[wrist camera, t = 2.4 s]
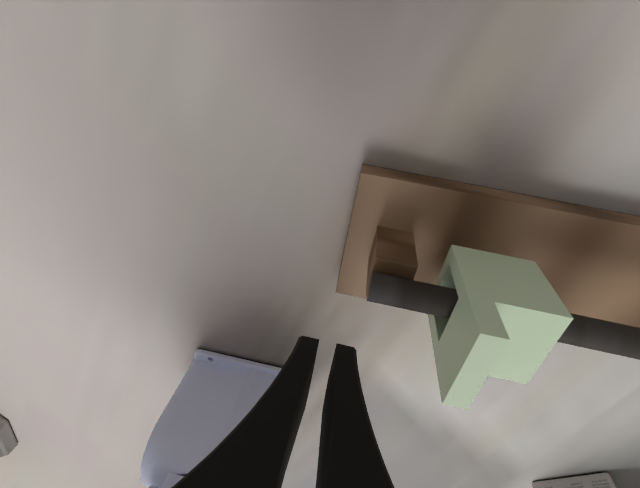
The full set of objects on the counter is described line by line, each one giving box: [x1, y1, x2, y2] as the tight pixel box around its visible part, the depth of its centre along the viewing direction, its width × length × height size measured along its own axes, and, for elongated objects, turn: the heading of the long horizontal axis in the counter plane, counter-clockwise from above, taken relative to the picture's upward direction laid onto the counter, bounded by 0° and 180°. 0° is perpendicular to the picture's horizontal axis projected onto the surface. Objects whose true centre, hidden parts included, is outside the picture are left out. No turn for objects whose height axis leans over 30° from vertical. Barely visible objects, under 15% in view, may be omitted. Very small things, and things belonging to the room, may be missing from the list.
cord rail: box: [336, 164, 640, 359], centre depth 17 cm, size 22×8×7 cm, turn 82°
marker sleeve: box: [428, 245, 574, 410], centre depth 15 cm, size 4×4×6 cm
